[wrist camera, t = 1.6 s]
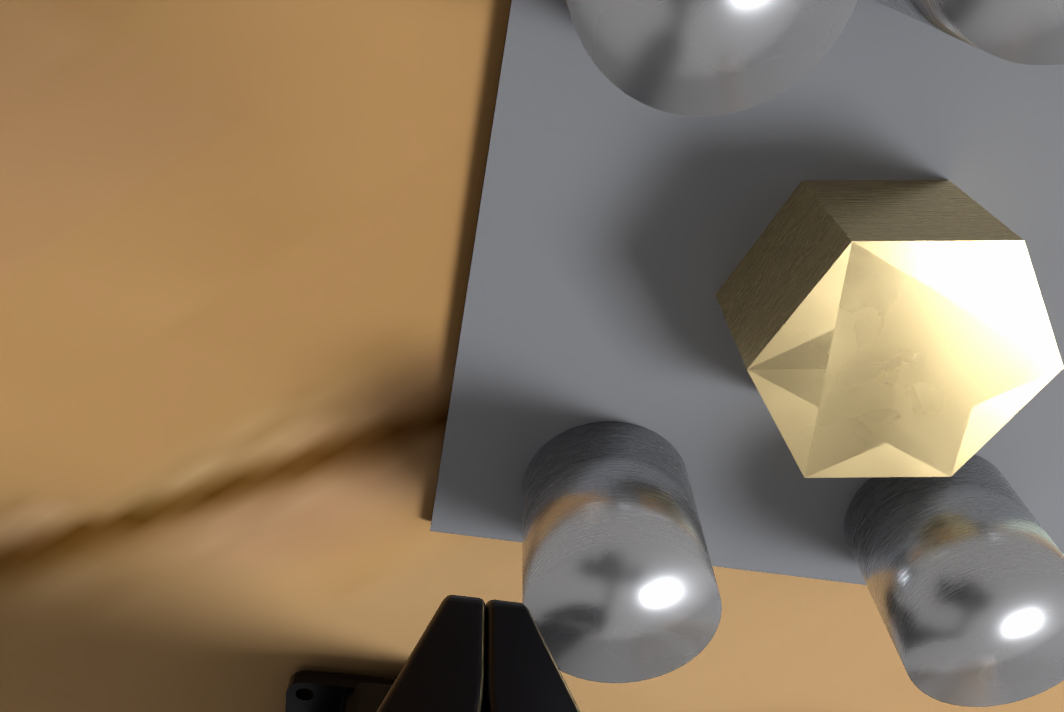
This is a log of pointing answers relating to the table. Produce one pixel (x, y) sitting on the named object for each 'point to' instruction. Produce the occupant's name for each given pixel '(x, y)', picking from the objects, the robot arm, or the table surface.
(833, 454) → the faceted tan block
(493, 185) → the mat
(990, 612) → the spacers
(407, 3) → the table surface
